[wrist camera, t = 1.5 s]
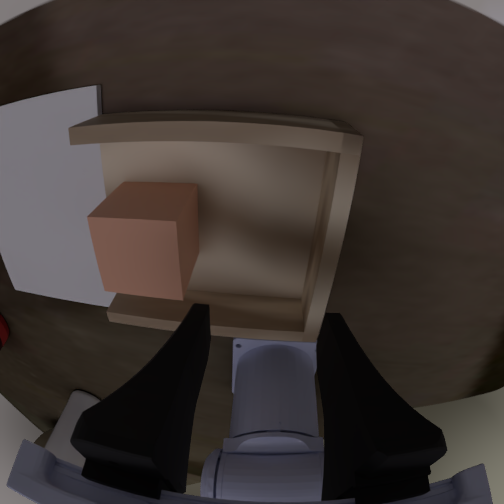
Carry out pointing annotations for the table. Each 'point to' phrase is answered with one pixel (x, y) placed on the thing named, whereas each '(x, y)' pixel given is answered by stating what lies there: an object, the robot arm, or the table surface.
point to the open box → (241, 211)
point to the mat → (51, 196)
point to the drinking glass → (69, 428)
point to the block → (147, 238)
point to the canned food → (3, 331)
